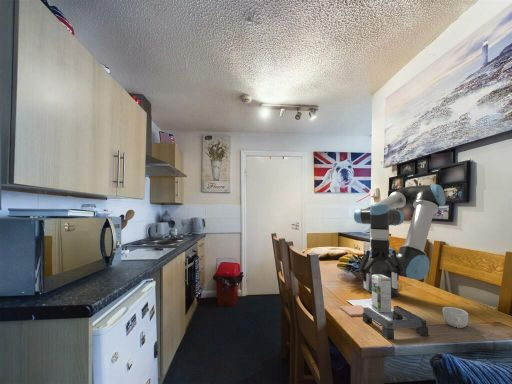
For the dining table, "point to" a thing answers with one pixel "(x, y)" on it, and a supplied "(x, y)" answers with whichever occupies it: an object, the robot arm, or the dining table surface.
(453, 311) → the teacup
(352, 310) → the terracotta tile
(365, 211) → the robot arm
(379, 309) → the syrup box
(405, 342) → the dining table surface
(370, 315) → the grey stand frame
